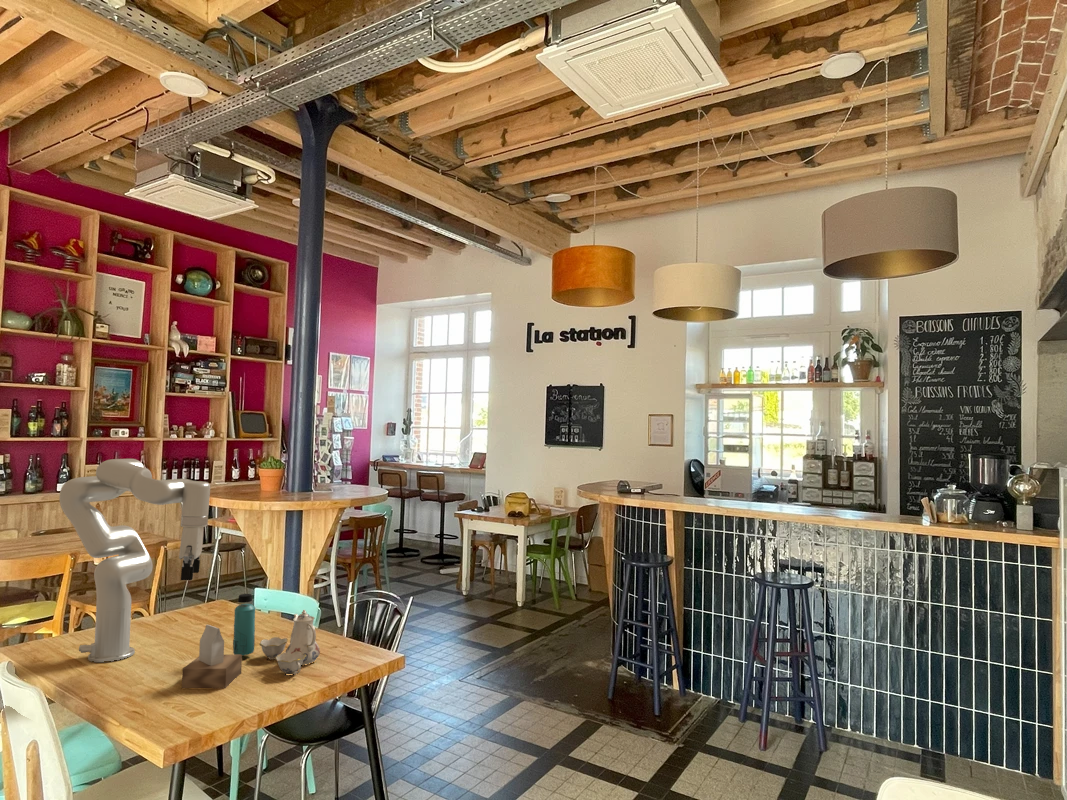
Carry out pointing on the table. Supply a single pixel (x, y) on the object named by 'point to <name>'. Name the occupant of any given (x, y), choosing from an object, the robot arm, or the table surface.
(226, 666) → the brown wooden block
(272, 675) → the table surface
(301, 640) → the chinaware
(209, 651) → the milk carton
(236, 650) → the beverage bottle
